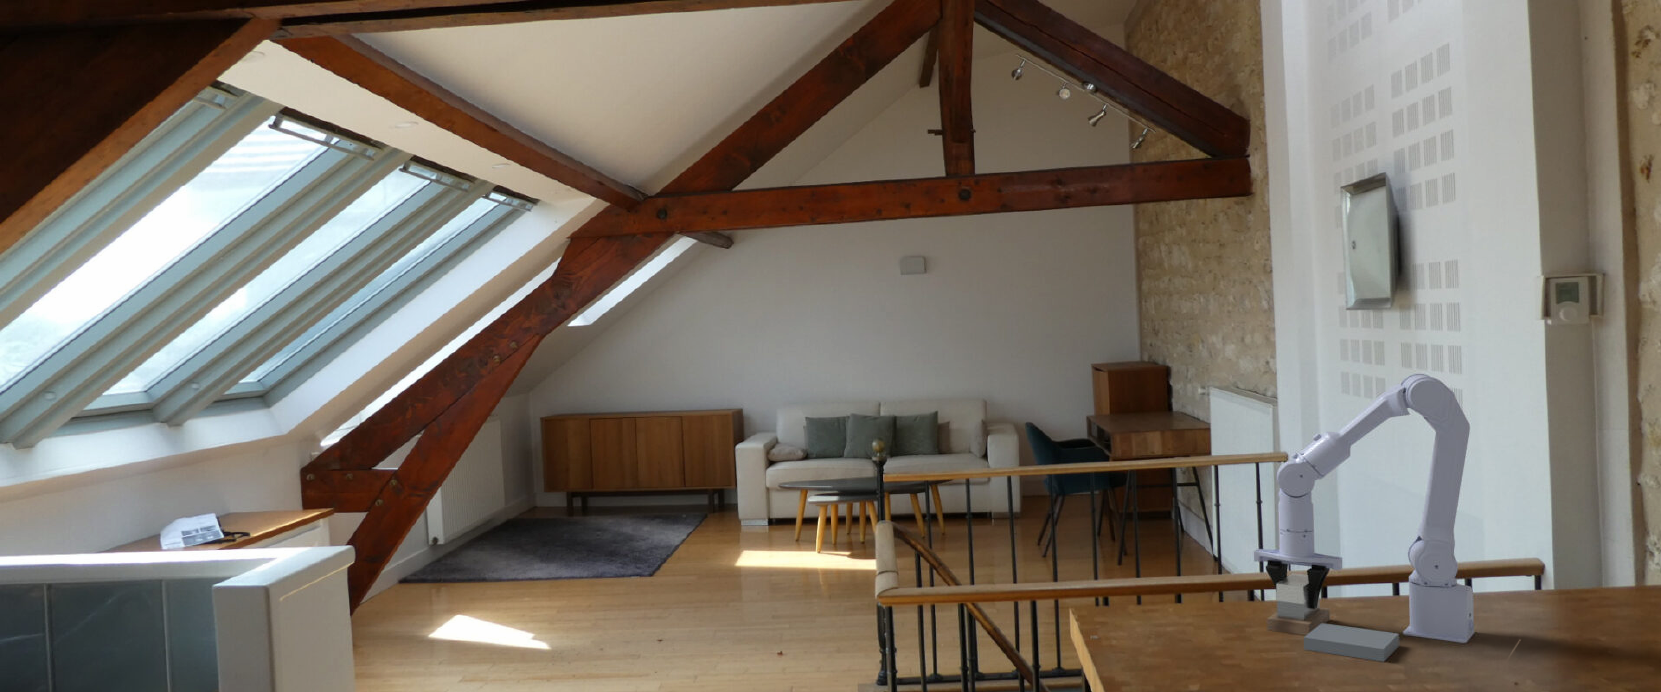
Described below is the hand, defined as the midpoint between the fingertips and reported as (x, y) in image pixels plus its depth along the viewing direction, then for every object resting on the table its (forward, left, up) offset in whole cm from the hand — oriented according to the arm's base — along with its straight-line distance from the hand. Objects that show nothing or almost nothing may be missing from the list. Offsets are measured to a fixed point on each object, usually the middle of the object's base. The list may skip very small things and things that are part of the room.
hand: (1298, 605), depth 195 cm
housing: (0, 0, -1) cm, 1 cm away
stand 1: (0, 0, -3) cm, 3 cm away
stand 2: (-11, +9, -3) cm, 15 cm away
